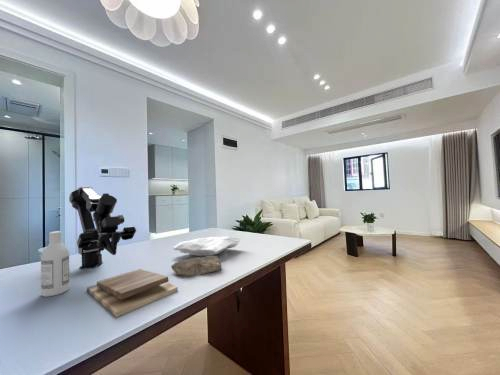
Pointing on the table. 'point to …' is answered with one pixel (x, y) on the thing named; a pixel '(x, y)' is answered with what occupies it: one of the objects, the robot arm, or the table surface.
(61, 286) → the bath foam
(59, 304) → the table surface
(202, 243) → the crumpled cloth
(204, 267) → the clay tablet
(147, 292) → the oak floor board
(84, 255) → the robot arm
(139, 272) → the walnut plank
